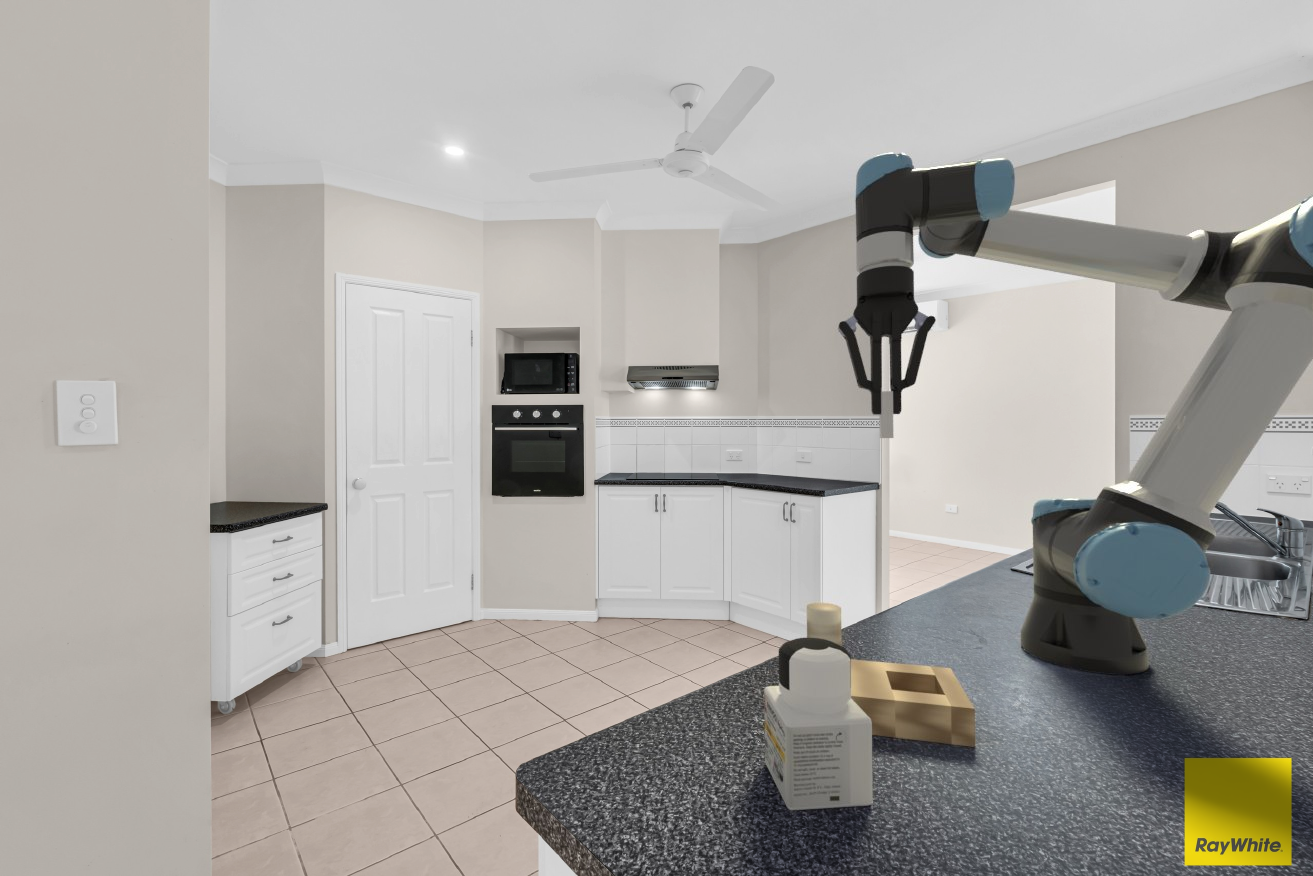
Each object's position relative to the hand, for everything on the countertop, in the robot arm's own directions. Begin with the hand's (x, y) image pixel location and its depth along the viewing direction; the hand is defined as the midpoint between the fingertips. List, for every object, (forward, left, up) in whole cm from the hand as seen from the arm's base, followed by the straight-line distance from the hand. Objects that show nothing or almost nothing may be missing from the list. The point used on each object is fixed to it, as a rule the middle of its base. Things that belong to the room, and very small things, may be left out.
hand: (886, 437), depth 81 cm
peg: (+9, +15, -32) cm, 37 cm away
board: (+4, +15, -32) cm, 36 cm away
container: (+10, +31, -33) cm, 46 cm away
